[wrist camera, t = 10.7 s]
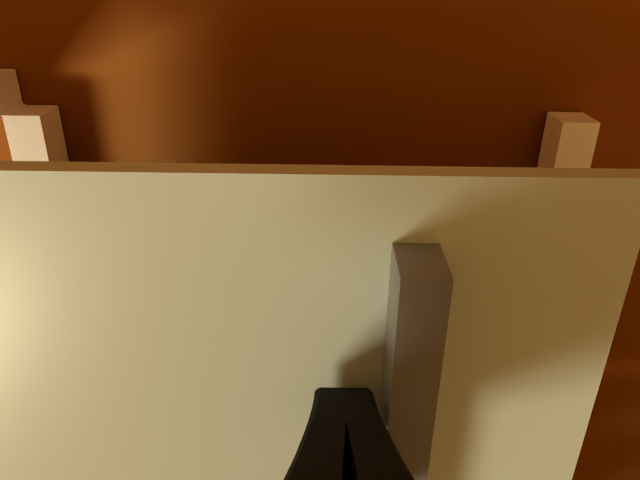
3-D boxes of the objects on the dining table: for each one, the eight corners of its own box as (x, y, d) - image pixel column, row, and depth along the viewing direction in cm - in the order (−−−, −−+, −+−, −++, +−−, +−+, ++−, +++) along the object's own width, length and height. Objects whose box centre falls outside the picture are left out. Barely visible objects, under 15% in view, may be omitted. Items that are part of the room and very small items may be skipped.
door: (539, 545, 17) (566, 617, 15) (28, 539, 17) (-9, 610, 15) (644, 168, 12) (704, 208, 10) (-97, 159, 12) (-175, 197, 10)
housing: (510, 446, 22) (551, 555, 18) (-304, 436, 22) (-444, 542, 18) (590, 76, 16) (681, 116, 12) (-543, 61, 16) (-837, 97, 12)
